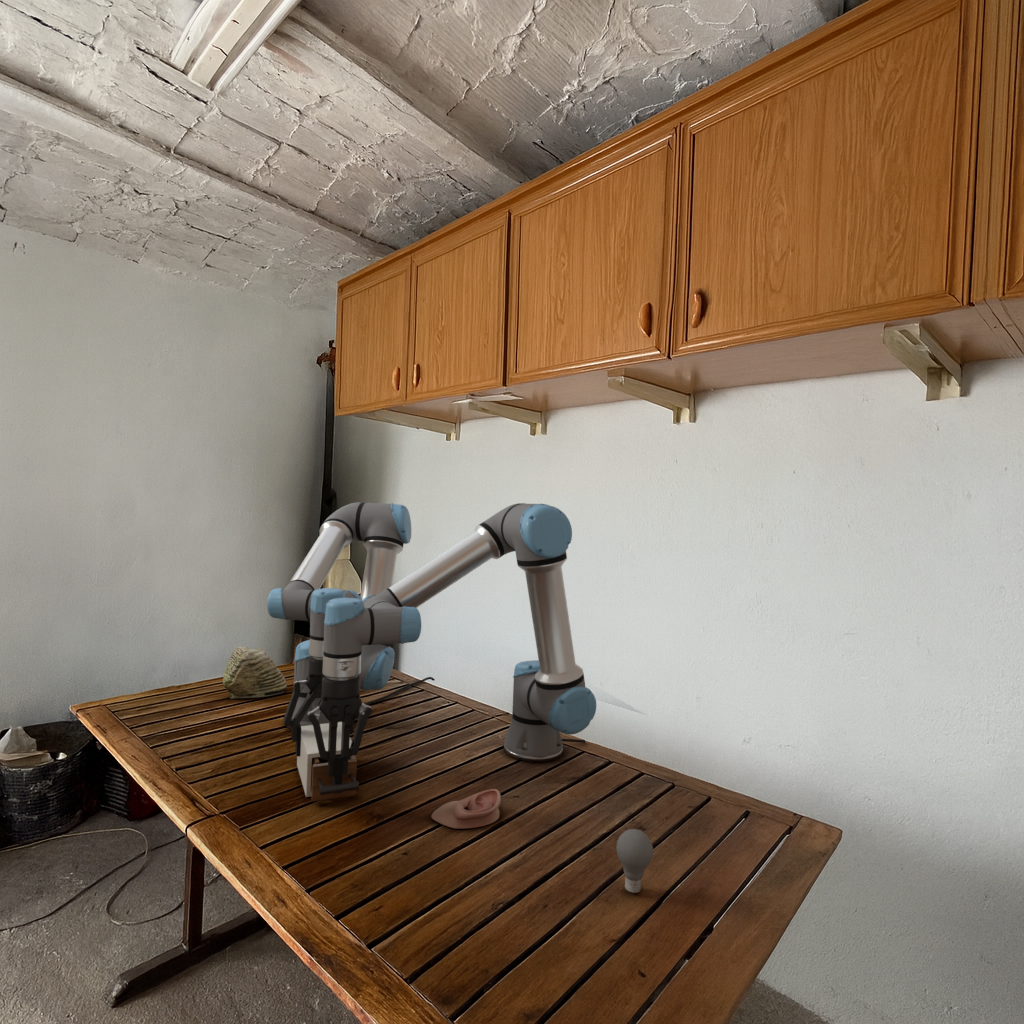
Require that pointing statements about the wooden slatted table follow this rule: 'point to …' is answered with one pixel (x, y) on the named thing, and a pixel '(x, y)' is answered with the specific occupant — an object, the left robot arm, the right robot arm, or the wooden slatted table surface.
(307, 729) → the cabinet
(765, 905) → the wooden slatted table surface
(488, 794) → the anatomical model
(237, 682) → the fossil
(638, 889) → the light bulb
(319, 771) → the drawer
